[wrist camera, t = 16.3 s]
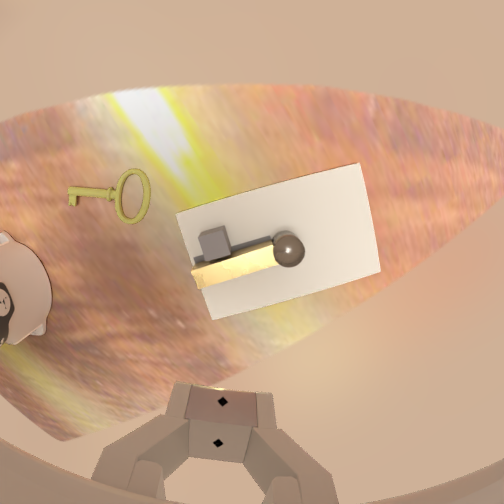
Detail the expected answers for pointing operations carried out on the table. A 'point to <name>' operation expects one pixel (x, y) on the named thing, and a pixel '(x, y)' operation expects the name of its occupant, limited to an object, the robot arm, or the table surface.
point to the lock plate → (291, 219)
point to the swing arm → (251, 260)
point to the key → (116, 195)
